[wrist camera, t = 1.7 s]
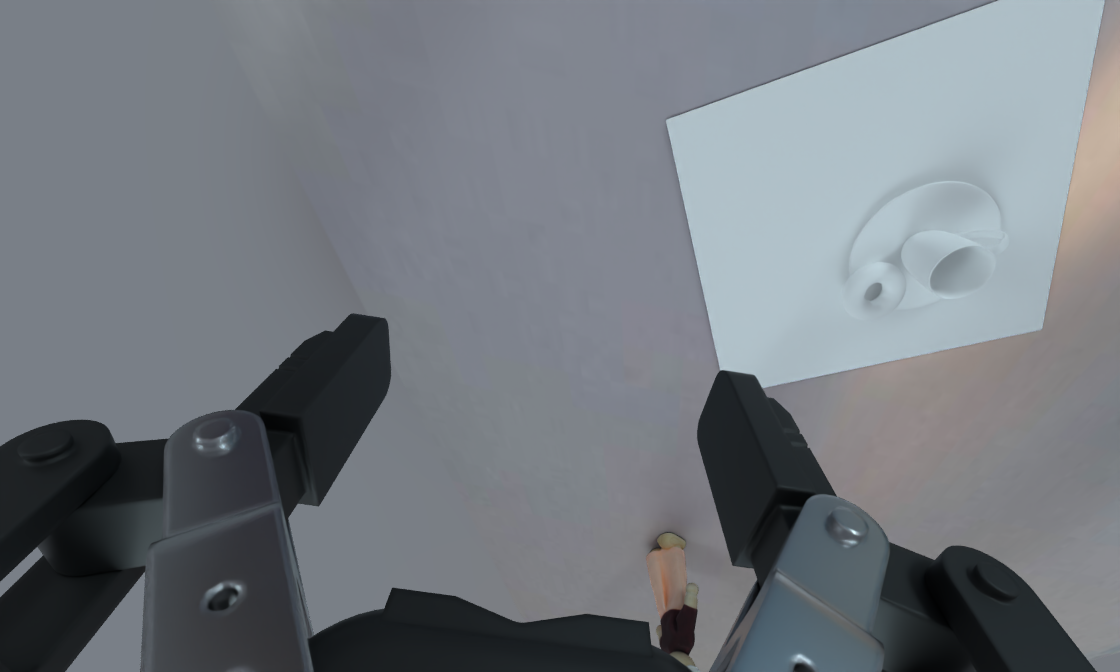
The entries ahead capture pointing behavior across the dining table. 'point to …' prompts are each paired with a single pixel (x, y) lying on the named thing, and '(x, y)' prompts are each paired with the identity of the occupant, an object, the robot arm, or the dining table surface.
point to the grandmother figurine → (673, 598)
